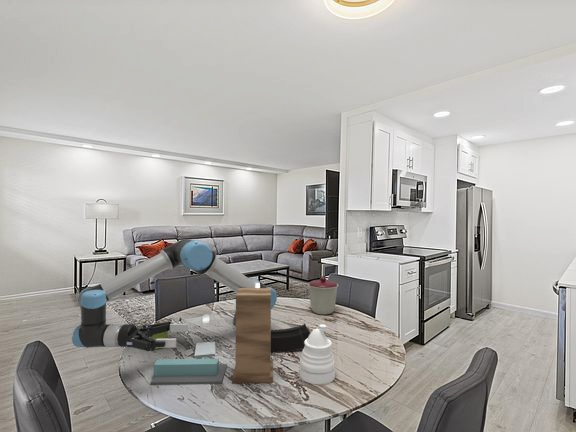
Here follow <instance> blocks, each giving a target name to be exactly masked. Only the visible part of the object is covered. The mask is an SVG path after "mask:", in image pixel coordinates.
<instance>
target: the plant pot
mask: <svg viewBox="0 0 576 432" xmlns="http://www.w3.org/2000/svg"><path fill="white" fill-rule="evenodd" d="M158 323H159V322H155V324H158ZM167 327H168V326H167ZM168 334H169V331H166V332H162V333H158V334H154V335H153V336H152V337H149V338H151V339H153V340H155V341H156V339H168ZM160 349H161V348H156V347H155V350H160Z"/></svg>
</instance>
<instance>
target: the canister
mask: <svg viewBox="0 0 576 432" xmlns="http://www.w3.org/2000/svg"><path fill="white" fill-rule="evenodd" d="M307 286H308V290H309V291H308V292H309V300H310V308H311V310H312V312H313V313H314V314H318V315H324V316H325V315H326V316H327V315H330V314H332V313H334V311H335V307H336V301H337V294H338V287H339V286H340V285H339V284H338V283H337V282H336V281H333V280H329V279H327V277H326V276H325V275H324V276H323V275H322V276H321V277H320V278H319V279H314V280H311V281H310V282H308V283H307Z"/></svg>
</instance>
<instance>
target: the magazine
mask: <svg viewBox="0 0 576 432" xmlns="http://www.w3.org/2000/svg"><path fill="white" fill-rule="evenodd" d="M306 324H307V323H303V324H302V325H297V326H293V327H287V328H281V329H280V328H279V329H271V354H279V353H281V354H282V353H289V352H290V353H291V352H296V351H299V350H303V349H304V347H305V344H304V341H305V340H306V339H307V338H308V337H309V335H310V334H311V332H312V331H311V329H310V327H309V326H307V325H306Z"/></svg>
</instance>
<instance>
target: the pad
mask: <svg viewBox="0 0 576 432" xmlns="http://www.w3.org/2000/svg"><path fill="white" fill-rule="evenodd" d="M227 368H228V363H219V370H218V373H217V375H199V376H153V378H152V380H151V381H150V382H149V385H150V386H156V385H157V386H158V385H159V386H161V385H162V386H163V385H165V386H166V385H170V386H171V385H209V384H210V385H218V384H219V385H220V384H223V381H224V377H225V374H226V373H227V372H226V371H227Z"/></svg>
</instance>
